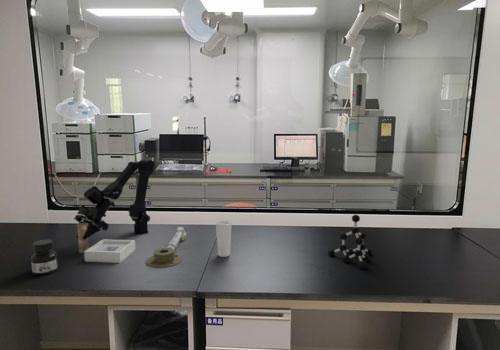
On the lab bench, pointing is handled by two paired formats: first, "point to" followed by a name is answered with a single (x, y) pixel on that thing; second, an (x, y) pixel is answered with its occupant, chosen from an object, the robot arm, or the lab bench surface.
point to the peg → (82, 243)
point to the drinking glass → (223, 237)
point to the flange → (163, 258)
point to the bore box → (110, 251)
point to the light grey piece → (177, 238)
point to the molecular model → (359, 251)
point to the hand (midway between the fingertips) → (80, 238)
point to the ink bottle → (44, 258)
